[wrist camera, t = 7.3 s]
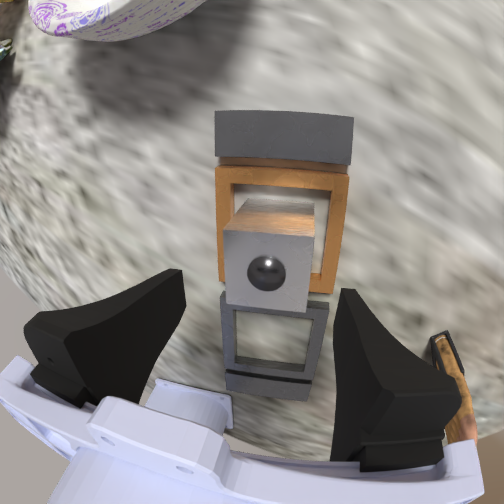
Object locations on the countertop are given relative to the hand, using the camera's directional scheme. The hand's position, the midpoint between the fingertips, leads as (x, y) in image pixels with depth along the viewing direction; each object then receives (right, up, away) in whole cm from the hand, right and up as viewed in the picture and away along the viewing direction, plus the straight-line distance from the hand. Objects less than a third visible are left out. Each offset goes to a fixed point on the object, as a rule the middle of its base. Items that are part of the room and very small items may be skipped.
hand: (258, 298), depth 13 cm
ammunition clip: (+19, -10, +10) cm, 24 cm away
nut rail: (+2, -1, +10) cm, 10 cm away
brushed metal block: (+2, +4, +8) cm, 9 cm away
